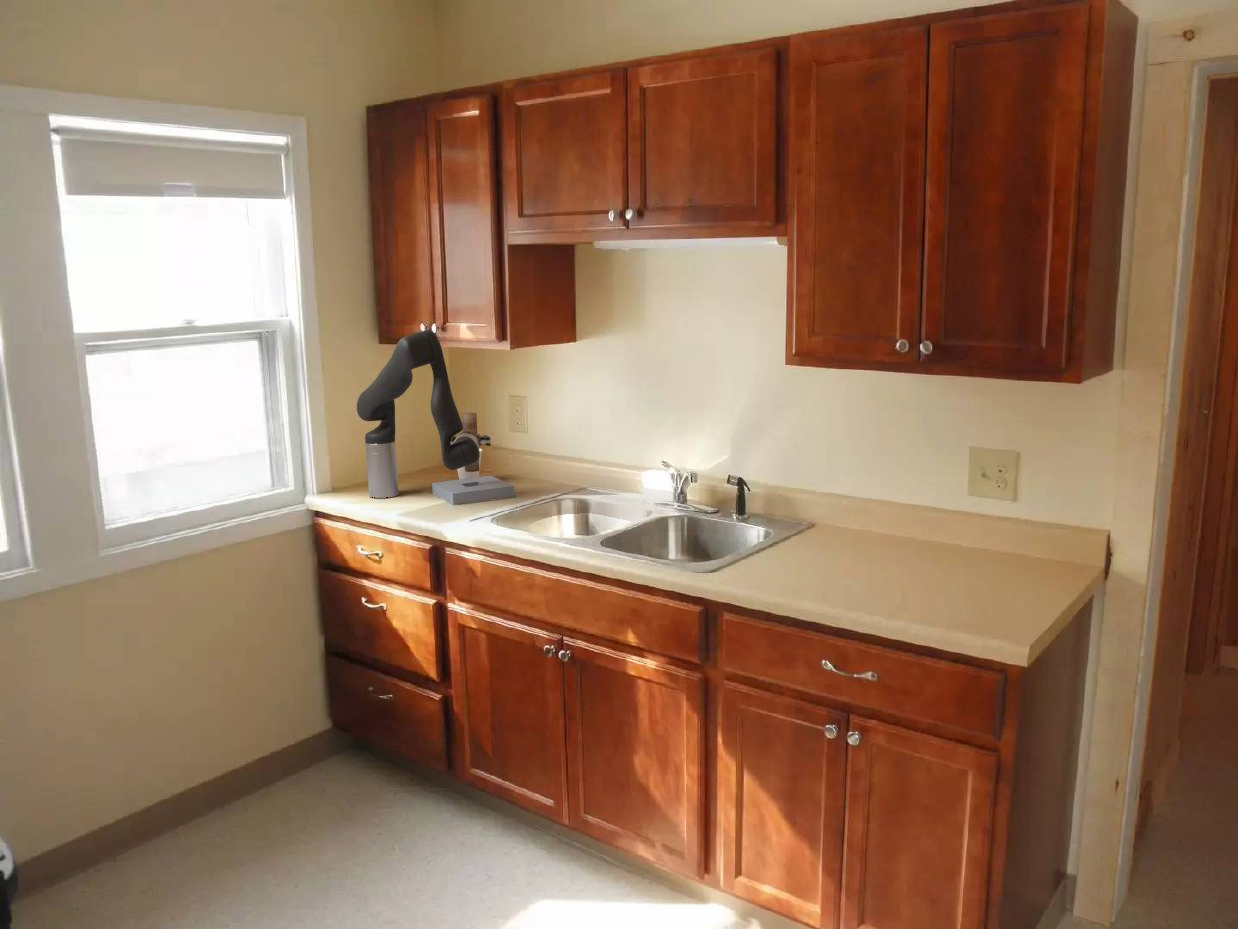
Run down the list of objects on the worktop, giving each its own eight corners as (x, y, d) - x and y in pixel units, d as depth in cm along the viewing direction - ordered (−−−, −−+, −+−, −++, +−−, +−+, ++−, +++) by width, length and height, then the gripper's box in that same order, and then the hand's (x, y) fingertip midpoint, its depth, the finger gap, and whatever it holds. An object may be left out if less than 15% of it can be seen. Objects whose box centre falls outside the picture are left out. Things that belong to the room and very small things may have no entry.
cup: (474, 478, 350) (472, 446, 348) (489, 482, 343) (488, 450, 341) (448, 482, 344) (446, 450, 342) (464, 487, 337) (462, 453, 335)
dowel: (462, 470, 322) (459, 413, 320) (476, 468, 325) (473, 412, 322) (467, 472, 319) (464, 414, 316) (481, 470, 321) (478, 413, 318)
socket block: (432, 493, 327) (431, 482, 327) (491, 486, 337) (490, 475, 336) (453, 504, 310) (452, 493, 309) (514, 496, 319) (514, 485, 319)
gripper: (489, 432, 306) (493, 425, 322) (441, 434, 305) (447, 426, 322) (490, 457, 307) (494, 448, 324) (442, 459, 306) (448, 450, 323)
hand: (471, 437), depth 323 cm, fingers closed on dowel, 4 cm apart
